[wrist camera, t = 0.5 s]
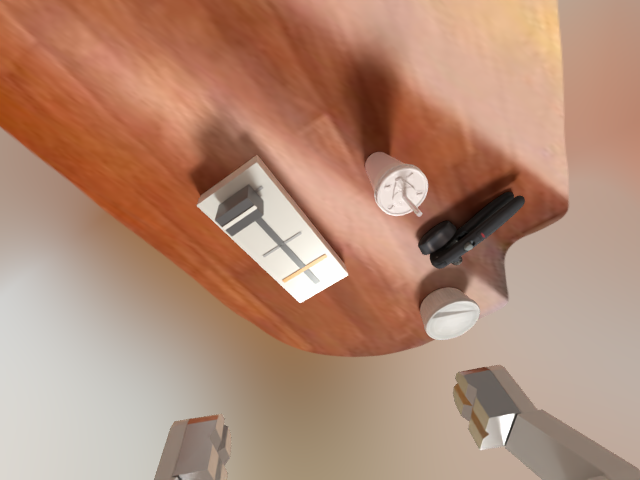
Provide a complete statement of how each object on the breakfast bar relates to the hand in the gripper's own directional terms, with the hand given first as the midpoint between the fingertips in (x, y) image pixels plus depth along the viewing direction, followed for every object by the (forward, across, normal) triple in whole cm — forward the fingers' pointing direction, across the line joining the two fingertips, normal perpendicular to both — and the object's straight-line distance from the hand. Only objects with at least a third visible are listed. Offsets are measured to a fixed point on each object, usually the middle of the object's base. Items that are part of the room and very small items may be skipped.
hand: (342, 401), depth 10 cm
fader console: (+36, +4, +11) cm, 38 cm away
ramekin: (+40, -26, +35) cm, 59 cm away
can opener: (+38, -27, +15) cm, 49 cm away
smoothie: (+36, -12, +2) cm, 38 cm away
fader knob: (+32, +8, +4) cm, 33 cm away
